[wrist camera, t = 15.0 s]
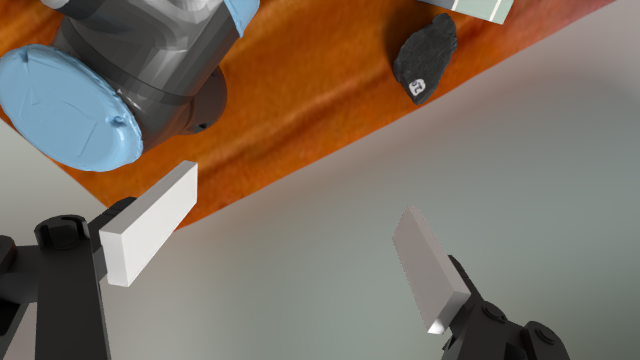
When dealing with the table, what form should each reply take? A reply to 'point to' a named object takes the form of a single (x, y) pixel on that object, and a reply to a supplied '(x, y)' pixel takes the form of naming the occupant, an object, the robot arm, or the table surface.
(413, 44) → the rock
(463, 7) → the lane
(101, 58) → the robot arm
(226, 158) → the table surface
